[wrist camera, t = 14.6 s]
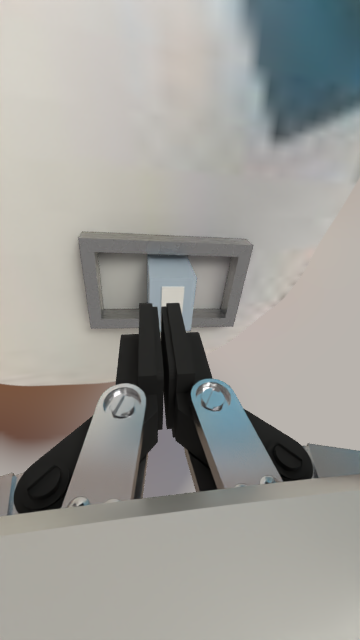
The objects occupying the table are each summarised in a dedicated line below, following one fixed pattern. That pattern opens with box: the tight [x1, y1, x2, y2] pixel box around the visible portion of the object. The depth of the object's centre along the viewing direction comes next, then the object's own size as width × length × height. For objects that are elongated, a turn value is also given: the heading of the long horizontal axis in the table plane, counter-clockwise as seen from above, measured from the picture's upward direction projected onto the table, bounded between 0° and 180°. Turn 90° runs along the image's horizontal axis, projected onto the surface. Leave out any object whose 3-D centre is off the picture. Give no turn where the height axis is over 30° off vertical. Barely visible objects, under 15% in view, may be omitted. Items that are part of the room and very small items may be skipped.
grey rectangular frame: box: [78, 232, 253, 328], centre depth 33 cm, size 20×12×2 cm, turn 85°
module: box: [147, 254, 197, 332], centre depth 31 cm, size 5×7×7 cm
